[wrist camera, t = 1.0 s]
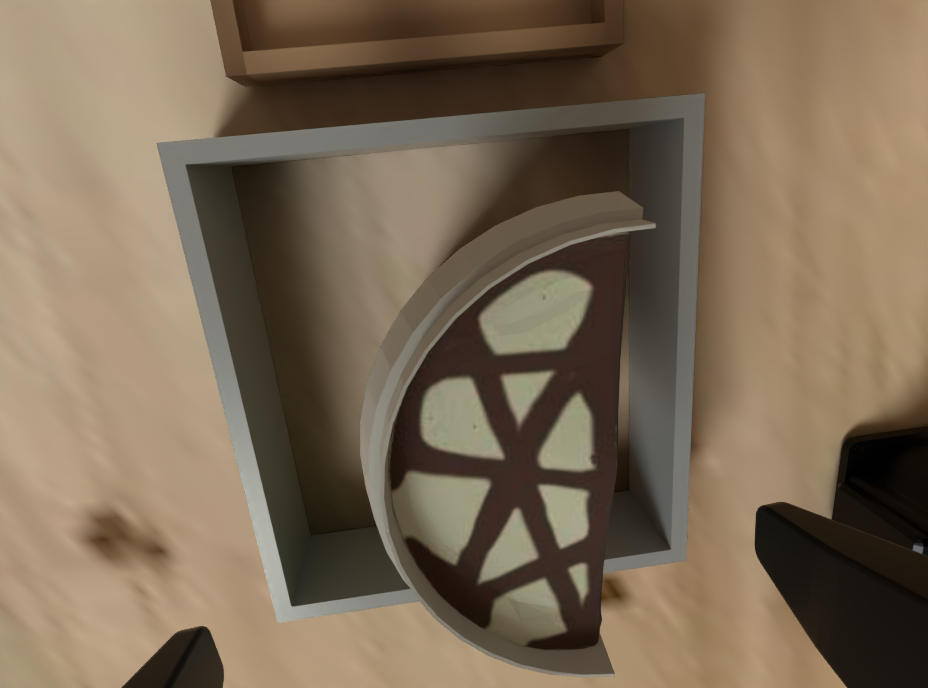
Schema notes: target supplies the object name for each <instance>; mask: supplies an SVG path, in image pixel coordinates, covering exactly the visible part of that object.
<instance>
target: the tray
mask: <svg viewBox="0 0 928 688" xmlns="http://www.w3.org/2000/svg"><path fill="white" fill-rule="evenodd" d="M210 1H211V6H212V10H213V15H214V20H215V25H216V30H217V34H218V39H219V44H220V49H221V54H222V59H223V63H224V68H225V73H226V77H228V78H230V79H232V80H234V81H236V82H238V83H239V84H241V85H243V86H245V87H249V86H260V85H272V84H284V83H296V82H307V81H319V80H331V79H343V78H354V77H366V76H378V75H390V74H401V73H413V72H425V71H437V70H448V69H460V68H472V67H484V66H495V65H507V64H519V63H531V62H542V61H554V60H566V59H578V58H589V57H601V56H603V55H605V54H607V53H608V52H610V51H612V50H613V49H615V48H617V47H618V46H620V45H621V44H623V43H624V0H210Z"/></svg>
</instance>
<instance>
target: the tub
mask: <svg viewBox="0 0 928 688" xmlns="http://www.w3.org/2000/svg"><path fill="white" fill-rule="evenodd" d="M704 110H705V93H700V94H689V95H678V96H667V97H656V98H645V99H634V100H623V101H612V102H601V103H590V104H579V105H568V106H557V107H546V108H536V109H525V110H514V111H503V112H492V113H481V114H470V115H459V116H448V117H437V118H426V119H415V120H404V121H393V122H382V123H371V124H360V125H349V126H338V127H327V128H316V129H305V130H294V131H283V132H272V133H261V134H250V135H239V136H228V137H217V138H206V139H195V140H184V141H173V142H162V143H157V147H158V151H159V155H160V159H161V163H162V167H163V171H164V175H165V179H166V183H167V187H168V191H169V195H170V199H171V203H172V207H173V210H174V214H175V218H176V222H177V226H178V230H179V234H180V238H181V242H182V246H183V250H184V254H185V258H186V262H187V266H188V270H189V274H190V278H191V282H192V286H193V290H194V294H195V298H196V301H197V305H198V309H199V313H200V317H201V321H202V325H203V329H204V333H205V337H206V341H207V345H208V349H209V353H210V357H211V361H212V365H213V369H214V373H215V377H216V381H217V385H218V389H219V393H220V396H221V400H222V404H223V408H224V412H225V416H226V420H227V424H228V428H229V432H230V436H231V440H232V444H233V448H234V452H235V456H236V460H237V464H238V468H239V472H240V476H241V480H242V484H243V488H244V491H245V495H246V499H247V503H248V507H249V511H250V515H251V519H252V523H253V527H254V531H255V535H256V539H257V543H258V547H259V551H260V555H261V559H262V563H263V567H264V571H265V575H266V579H267V582H268V586H269V590H270V594H271V598H272V602H273V606H274V610H275V614H276V618H277V622H278V623H280V622H286V621H293V620H299V619H306V618H313V617H319V616H326V615H332V614H339V613H345V612H352V611H359V610H365V609H372V608H378V607H385V606H391V605H398V604H405V603H411V602H418V601H419V600H418V599H417V597H416V596H415V595H414V594H413V592H412V590H411V589H410V587H409V586H408V585H407V584H406V582H405V581H404V580H403V579H402V577H401V575H400V574H399V572H398V570H397V569H396V567H395V565H394V563H393V562H392V560H391V558H390V557H389V555H388V553H387V552H386V550H385V547H384V544H383V541H382V539H381V536H380V533H379V530H378V527H377V526H374V527H367V528H360V529H353V530H345V531H338V532H331V533H324V534H317V535H310V531H309V527H308V522H307V517H306V513H305V508H304V503H303V499H302V494H301V490H300V485H299V480H298V476H297V471H296V466H295V462H294V457H293V452H292V448H291V443H290V438H289V434H288V429H287V425H286V420H285V415H284V411H283V406H282V401H281V397H280V392H279V387H278V383H277V378H276V373H275V369H274V364H273V360H272V355H271V350H270V346H269V341H268V336H267V332H266V327H265V322H264V318H263V313H262V308H261V304H260V299H259V295H258V290H257V285H256V281H255V276H254V271H253V267H252V262H251V257H250V253H249V248H248V243H247V239H246V234H245V229H244V225H243V220H242V216H241V211H240V206H239V202H238V197H237V192H236V188H235V183H234V178H233V174H232V169H231V166H241V165H251V164H262V163H272V162H283V161H293V160H304V159H314V158H325V157H336V156H346V155H357V154H367V153H378V152H388V151H399V150H409V149H420V148H430V147H441V146H452V145H462V144H473V143H483V142H494V141H504V140H515V139H525V138H536V137H546V136H557V135H568V134H578V133H589V132H599V131H610V130H620V129H630V199H631V200H632V201H634V202H635V203H637V204H638V205H640V206H641V207H643V215H642V219H643V220H646V221H650V222H653V223H656V228H651V229H643V230H635V231H630V257H629V490H627V491H620V492H614V495H613V503H612V509H611V515H610V521H609V527H608V533H607V541H606V549H605V557H604V568H603V573H608V572H615V571H622V570H628V569H635V568H641V567H648V566H654V565H661V564H668V563H674V562H681V561H686V546H687V522H688V498H689V474H690V449H691V425H692V401H693V377H694V353H695V328H696V304H697V280H698V256H699V231H700V207H701V183H702V159H703V135H704Z"/></svg>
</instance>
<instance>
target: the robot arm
mask: <svg viewBox="0 0 928 688" xmlns="http://www.w3.org/2000/svg"><path fill="white" fill-rule="evenodd" d="M856 448H857V449H856ZM855 449H856V450H855ZM755 551H756V554H757V557H758V559H759V561H760V563H761V564H762V566H763V567H764V569H765V570H766V572H767V574H768V575H769V577H770V578H771V580H772V581H773V583H774V584H775V586H776V587H777V589H778V590H779V592H780V594H781V595H782V597H783V598H784V600H785V601H786V603H787V604H788V606H789V607H790V609H791V610H792V612H793V614H794V615H795V617H796V618H797V620H798V621H799V623H800V624H801V626H802V627H803V629H804V630H805V632H806V634H807V635H808V636H809V638H810V639H811V641H812V642H813V644H814V645H815V647H816V648H817V649H818V651H819V652H820V653H821V655H822V656H823V657H824V659H825V660H826V661H827V663H828V664H829V665H830V666H831V668H832V669H833V670H834V672H835V673H836V674H837V675H838V677H839V678H840V679H841V680H842V682H843V683H844V684H845V686H846V687H847V688H928V427H922V428H915V429H907V430H900V431H893V432H886V433H879V434H871V435H864V436H857V437H852V438H849V439H848V440H846V441H845V443H844V444H843V446H842V451H841V458H840V465H839V472H838V480H837V487H836V494H835V501H834V508H833V516H832V520H831V519H828V518H826V517H823V516H820V515H818V514H815V513H812V512H810V511H807V510H805V509H802V508H799V507H797V506H794V505H791V504H789V503H786V502H776V503H772V504H767V505H762V506H760V507H759V508H758V510H757V512H756V526H755ZM223 682H224V669H223V664H222V661H221V659H220V656H219V653H218V651H217V648H216V646H215V643H214V640H213V638H212V635H211V633H210V631H209V629H208V628H207V627H204V626H199V627H194V628H190V629H185V630H181V631H178V632H177V633H175V634H174V635H173V636H172V637H171V638H170V639H169V640H168V641H167V642H166V643H165V644H164V645H163V646H162V647H161V648H160V649H159V650H158V651H157V652H156V653H155V654H154V655H153V656H152V657H151V658H150V659H149V660H148V661H147V662H146V663H145V664H144V665H143V666H142V667H141V668H140V669H139V670H138V671H137V672H136V673H135V674H134V675H133V676H132V677H131V679H130V680H129V681H128V682H127V683H126V684H125V685H124V686H123V687H122V688H223Z"/></svg>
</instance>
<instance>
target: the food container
mask: <svg viewBox="0 0 928 688" xmlns="http://www.w3.org/2000/svg"><path fill="white" fill-rule="evenodd" d="M642 215H643V207H641V206H640V205H638V204H637V203H635V202H634V201H632V200H631V199H630V198H628V197H627V196H625V195H624V194H622V193H621V192H619V191H615V192H607V193H598V194H589V195H580V196H575V197H572V198H568V199H564V200H561V201H557V202H553V203H550V204H546V205H542V206H539V207H535V208H533V209H531V210H529V211H526V212H524V213H522V214H520V215H518V216H515V217H513V218H511V219H509V220H506V221H504V222H502V223H500V224H498V225H496V226H494V227H492V228H491V229H489V230H488V231H486V232H485V233H483V234H482V235H480V236H479V237H477V238H476V239H474V240H473V241H471V242H469V243H468V244H466V245H465V246H463V247H462V248H460V249H459V250H458V251H457V252H455V253H454V254H453V255H452V256H451V257H450V258H449V259H448V260H447V261H446V262H444V263H443V264H442V265H441V266H440V267H439V268H438V269H437V270H436V271H434V272H433V273H432V274H431V275H430V276H429V277H428V278H427V279H426V280H425V281H424V283H423V284H422V285H421V286H420V287H419V289H418V290H417V291H416V292H415V294H414V295H413V296H412V297H411V299H410V300H409V301H408V302H407V304H406V305H405V306H404V307H403V309H402V310H401V311H400V313H399V315H398V316H397V318H396V320H395V322H394V323H393V325H392V327H391V329H390V330H389V332H388V334H387V336H386V337H385V339H384V341H383V343H382V344H381V346H380V349H379V352H378V354H377V357H376V360H375V362H374V365H373V368H372V371H371V373H370V376H369V379H368V381H367V386H366V391H365V396H364V402H363V407H362V413H361V418H360V457H361V463H362V468H363V474H364V480H365V486H366V490H367V494H368V498H369V501H370V505H371V509H372V512H373V516H374V519H375V522H376V525H377V527H378V530H379V533H380V536H381V539H382V541H383V544H384V547H385V550H386V552H387V553H388V555H389V557H390V558H391V560H392V562H393V563H394V565H395V567H396V569H397V570H398V572H399V574H400V575H401V577H402V579H403V580H404V581H405V582H406V584H407V585H408V586H409V587H410V589H411V590H412V592H413V594H414V595H415V596H416V597H417V599H418V600H419V601H420V602H421V603H422V604H423V606H424V607H425V608H426V609H427V610H428V611H429V613H430V614H431V615H432V616H433V617H434V618H435V619H436V620H437V621H438V622H439V623H440V624H442V625H443V626H444V627H445V628H447V629H448V630H449V631H450V632H452V633H453V634H454V635H455V636H456V637H458V638H459V639H460V640H462V641H463V642H465V643H467V644H469V645H470V646H472V647H474V648H476V649H477V650H479V651H481V652H483V653H484V654H486V655H488V656H490V657H493V658H495V659H498V660H501V661H503V662H506V663H509V664H511V665H514V666H516V667H519V668H524V669H528V670H532V671H537V672H541V673H546V674H550V675H561V676H573V677H607V676H615V673H614V670H613V668H612V665H611V662H610V660H609V657H608V654H607V651H606V649H605V646H604V643H603V641H602V638H601V635H600V633H599V632H600V625H601V621H602V617H601V589H602V578H603V568H604V557H605V549H606V541H607V533H608V527H609V521H610V515H611V509H612V503H613V495H614V488H615V481H616V474H617V453H618V403H619V376H620V354H621V341H622V328H623V315H624V302H625V288H626V275H627V262H628V249H629V236H630V233H628V232H626V231H635V230H643V229H651V228H656V223H653V222H650V221H646V220H643V219H642Z"/></svg>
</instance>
